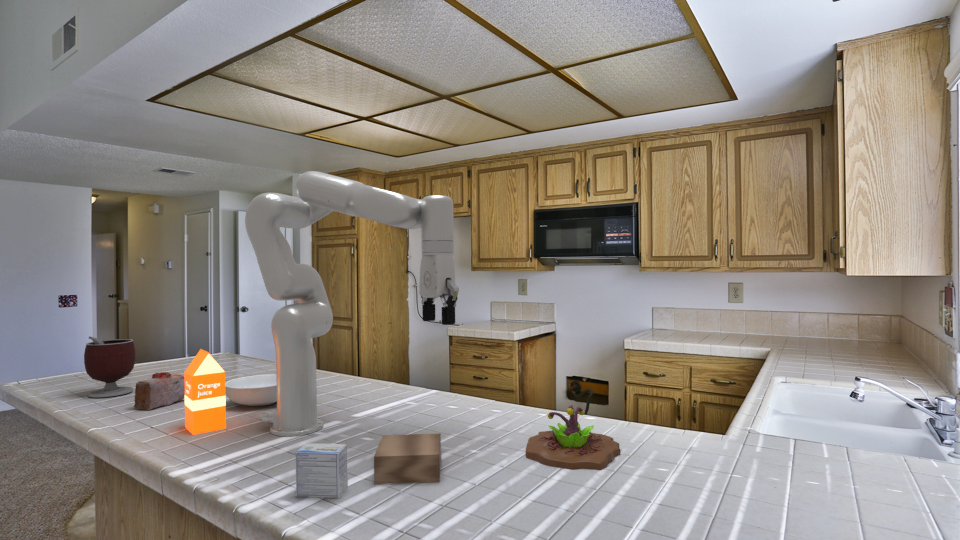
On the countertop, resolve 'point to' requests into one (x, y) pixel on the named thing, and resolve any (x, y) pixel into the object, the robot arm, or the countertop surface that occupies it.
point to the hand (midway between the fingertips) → (438, 322)
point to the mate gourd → (109, 364)
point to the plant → (572, 445)
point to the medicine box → (321, 470)
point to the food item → (159, 391)
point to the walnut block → (408, 459)
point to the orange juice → (204, 395)
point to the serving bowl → (252, 390)
